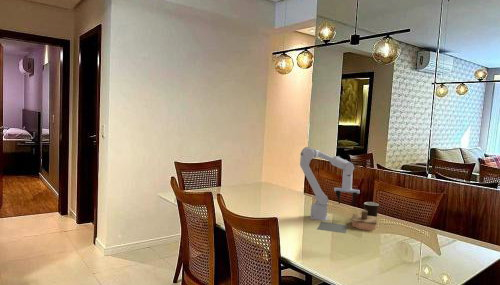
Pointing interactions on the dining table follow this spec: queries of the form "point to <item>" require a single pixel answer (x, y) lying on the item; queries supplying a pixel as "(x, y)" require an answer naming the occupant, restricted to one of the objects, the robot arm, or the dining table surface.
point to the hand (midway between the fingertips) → (346, 204)
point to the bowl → (363, 226)
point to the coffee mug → (371, 208)
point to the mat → (332, 227)
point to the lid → (364, 218)
